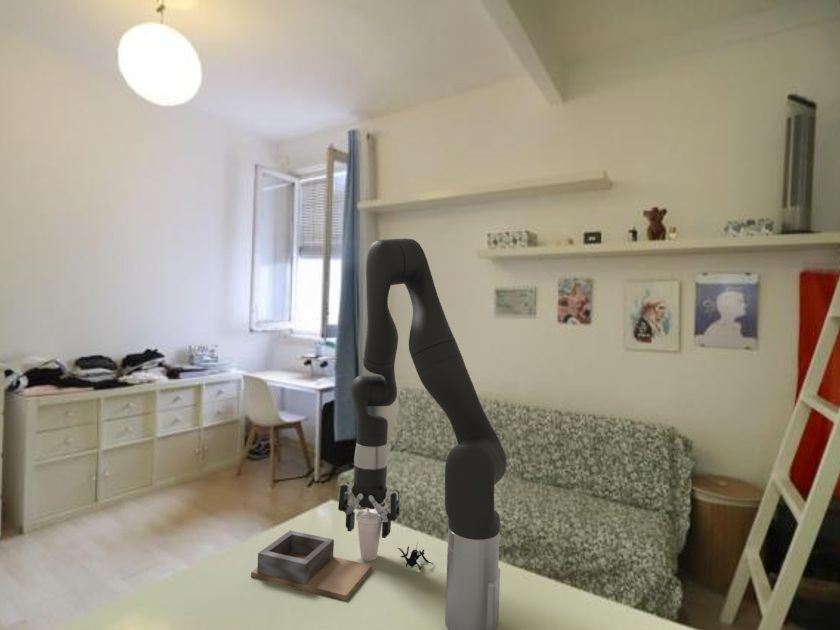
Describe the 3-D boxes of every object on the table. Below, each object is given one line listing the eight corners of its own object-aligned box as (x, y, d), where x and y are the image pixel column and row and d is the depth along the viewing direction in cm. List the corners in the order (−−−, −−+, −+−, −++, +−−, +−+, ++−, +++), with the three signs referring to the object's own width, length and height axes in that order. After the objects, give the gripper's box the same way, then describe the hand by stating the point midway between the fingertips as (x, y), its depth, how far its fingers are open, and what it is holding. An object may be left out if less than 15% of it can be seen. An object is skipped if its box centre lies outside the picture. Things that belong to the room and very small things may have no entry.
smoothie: (351, 552, 108) (353, 491, 108) (377, 547, 110) (379, 488, 111) (359, 565, 102) (362, 502, 102) (386, 560, 105) (389, 498, 105)
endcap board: (371, 569, 100) (372, 546, 100) (346, 600, 89) (346, 574, 89) (285, 550, 107) (285, 528, 107) (250, 576, 96) (251, 552, 96)
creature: (403, 559, 108) (391, 567, 100) (406, 534, 109) (394, 541, 102) (436, 566, 105) (425, 575, 98) (438, 540, 106) (428, 548, 99)
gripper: (405, 462, 108) (402, 532, 107) (350, 454, 112) (346, 521, 112) (393, 471, 100) (390, 546, 100) (335, 462, 105) (331, 534, 105)
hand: (367, 533), depth 106 cm, fingers open, 8 cm apart
